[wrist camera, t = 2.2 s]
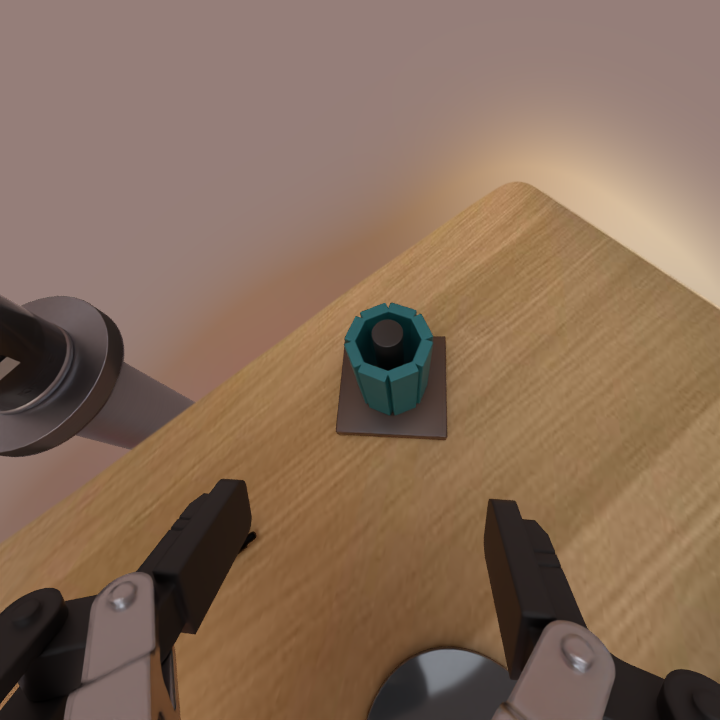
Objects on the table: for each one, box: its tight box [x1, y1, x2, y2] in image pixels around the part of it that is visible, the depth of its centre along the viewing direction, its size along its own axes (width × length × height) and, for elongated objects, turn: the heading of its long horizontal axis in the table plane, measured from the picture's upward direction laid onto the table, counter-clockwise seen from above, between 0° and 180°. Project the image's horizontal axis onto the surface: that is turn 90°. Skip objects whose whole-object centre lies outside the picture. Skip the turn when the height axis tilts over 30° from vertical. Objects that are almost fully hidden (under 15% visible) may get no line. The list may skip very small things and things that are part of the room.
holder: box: [336, 320, 447, 440], centre depth 28 cm, size 9×9×10 cm
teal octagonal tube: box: [344, 303, 433, 415], centre depth 28 cm, size 6×6×8 cm
